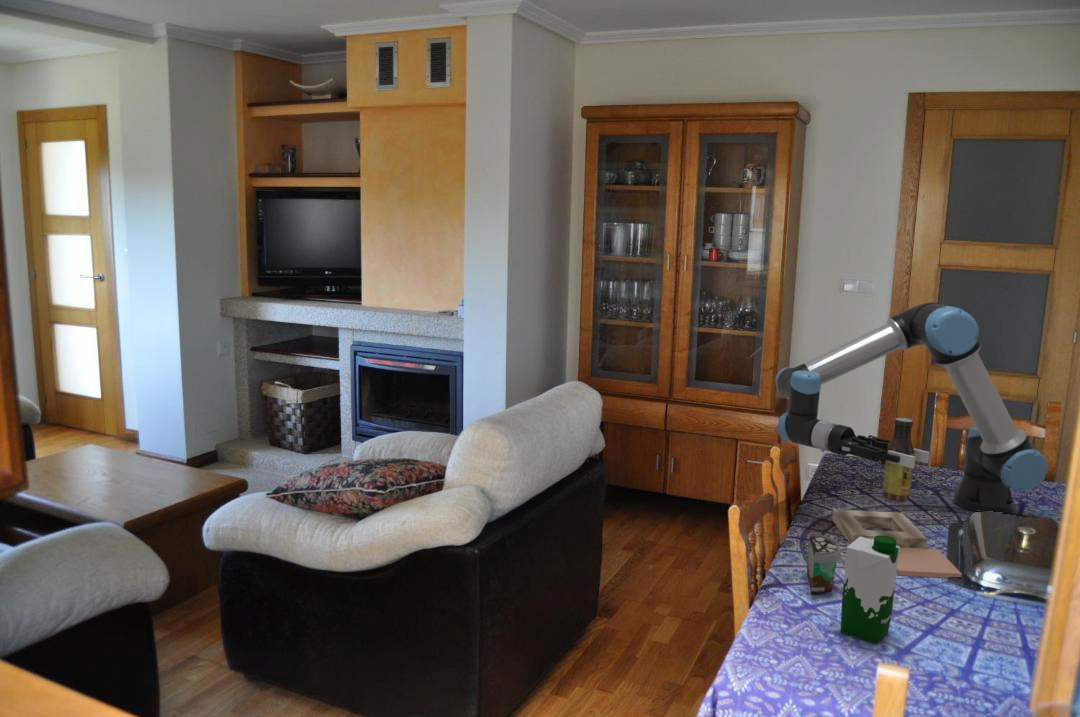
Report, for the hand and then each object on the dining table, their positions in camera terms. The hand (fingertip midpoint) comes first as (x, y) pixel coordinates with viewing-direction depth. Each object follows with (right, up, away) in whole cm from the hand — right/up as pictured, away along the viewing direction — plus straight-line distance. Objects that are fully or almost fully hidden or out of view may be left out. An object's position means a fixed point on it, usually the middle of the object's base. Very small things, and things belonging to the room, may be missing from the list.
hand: (921, 460), depth 203 cm
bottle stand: (-4, -21, +17) cm, 27 cm away
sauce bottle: (-4, -10, +6) cm, 12 cm away
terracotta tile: (-1, -25, -1) cm, 25 cm away
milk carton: (-26, -30, -34) cm, 52 cm away
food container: (-28, -27, -14) cm, 41 cm away
